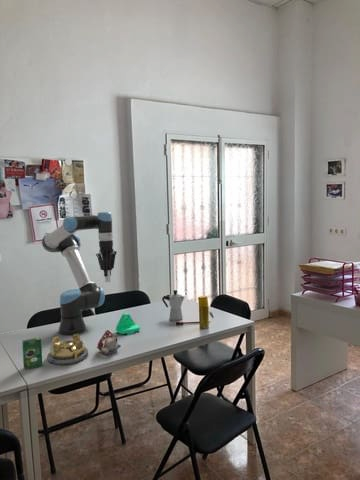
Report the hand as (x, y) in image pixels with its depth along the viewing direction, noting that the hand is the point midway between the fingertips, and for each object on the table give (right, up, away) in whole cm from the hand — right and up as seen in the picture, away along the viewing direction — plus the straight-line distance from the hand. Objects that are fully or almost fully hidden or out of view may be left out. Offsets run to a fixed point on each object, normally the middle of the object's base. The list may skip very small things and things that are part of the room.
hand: (107, 281), depth 218 cm
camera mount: (+11, -29, +4) cm, 31 cm away
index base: (-14, -33, -30) cm, 47 cm away
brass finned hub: (-14, -31, -30) cm, 45 cm away
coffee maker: (+37, -26, +25) cm, 52 cm away
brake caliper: (+5, -33, -24) cm, 41 cm away
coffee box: (-27, -35, -40) cm, 59 cm away
